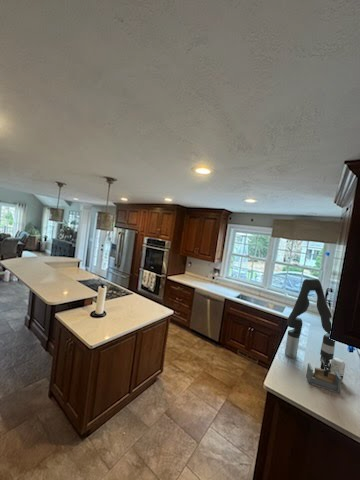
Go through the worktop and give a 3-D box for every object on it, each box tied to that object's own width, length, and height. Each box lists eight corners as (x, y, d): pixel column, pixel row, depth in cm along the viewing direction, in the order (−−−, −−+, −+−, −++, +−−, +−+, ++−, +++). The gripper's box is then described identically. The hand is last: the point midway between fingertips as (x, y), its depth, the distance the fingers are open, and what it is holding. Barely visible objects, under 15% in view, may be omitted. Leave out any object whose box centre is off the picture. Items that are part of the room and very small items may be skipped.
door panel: (313, 379, 151) (315, 367, 151) (333, 385, 147) (335, 373, 147) (314, 381, 149) (316, 369, 148) (334, 388, 144) (336, 375, 144)
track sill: (306, 376, 155) (308, 362, 155) (334, 385, 149) (337, 371, 149) (308, 383, 147) (310, 369, 147) (339, 393, 141) (341, 379, 140)
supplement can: (327, 374, 162) (330, 355, 161) (340, 378, 159) (343, 358, 158) (330, 380, 154) (333, 360, 154) (344, 384, 151) (347, 364, 151)
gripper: (318, 344, 155) (315, 365, 156) (324, 353, 142) (320, 376, 143) (330, 347, 153) (327, 368, 153) (337, 357, 140) (333, 380, 140)
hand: (323, 372), depth 148 cm, fingers open, 8 cm apart
